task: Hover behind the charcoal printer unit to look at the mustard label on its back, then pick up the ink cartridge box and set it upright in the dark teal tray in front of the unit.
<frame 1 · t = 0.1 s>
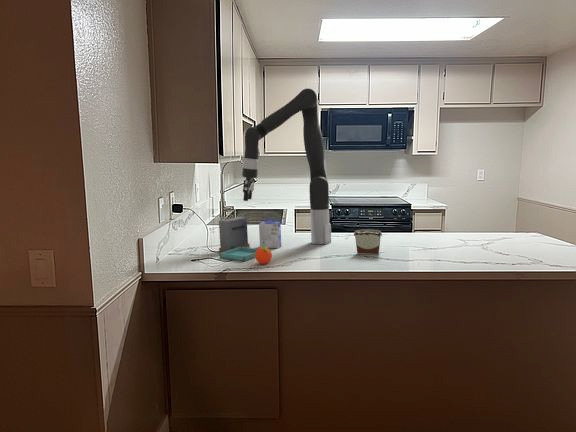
hand: (247, 200, 206), 23 cm above the worktop, tool pointing down, fingers open, 8 cm apart
printer unit: (234, 249, 196), on the worktop
food container: (368, 253, 181), on the worktop
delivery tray: (242, 256, 183), on the worktop
ink cartridge box: (270, 247, 200), on the worktop
clementine: (264, 264, 168), on the worktop
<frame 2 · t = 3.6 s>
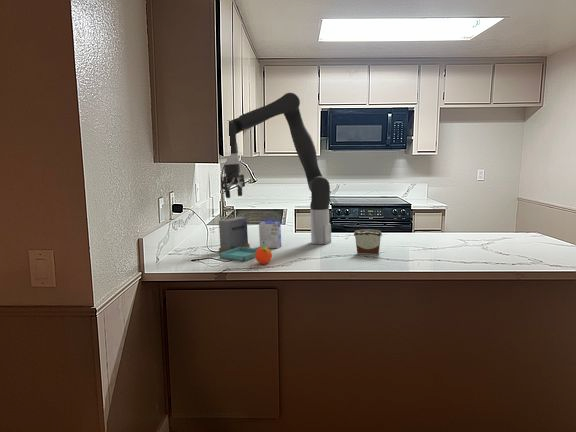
hand: (234, 196, 198), 25 cm above the worktop, tool pointing down, fingers open, 8 cm apart
nothing on the worktop moved.
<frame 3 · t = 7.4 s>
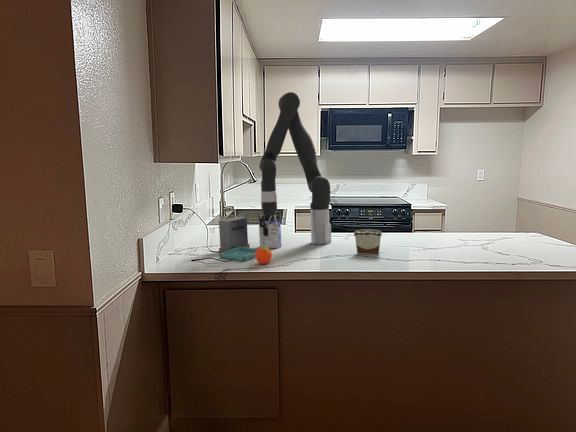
hand: (270, 234, 199), 6 cm above the worktop, tool pointing down, fingers closed on ink cartridge box, 6 cm apart
ink cartridge box: (270, 247, 200), on the worktop, touching gripper
everything else where it was.
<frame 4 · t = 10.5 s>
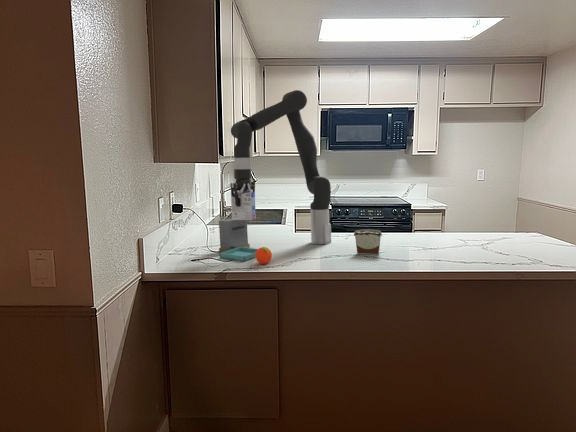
hand: (243, 205, 182), 22 cm above the worktop, tool pointing down, fingers closed on ink cartridge box, 6 cm apart
ink cartridge box: (244, 219, 183), point 16 cm above the worktop, touching gripper
everything else where it was.
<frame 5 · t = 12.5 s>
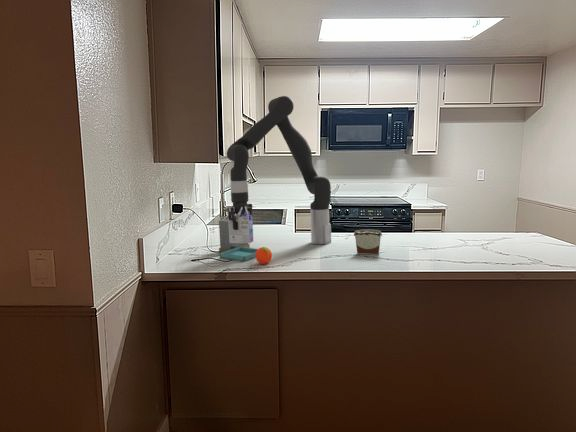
hand: (241, 228, 181), 13 cm above the worktop, tool pointing down, fingers closed on ink cartridge box, 6 cm apart
ink cartridge box: (241, 242, 182), point 6 cm above the worktop, touching gripper
everything else where it was.
when the fingers open (9 cm above the worktop, at t = 13.9 s): ink cartridge box drops 2 cm, resting on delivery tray.
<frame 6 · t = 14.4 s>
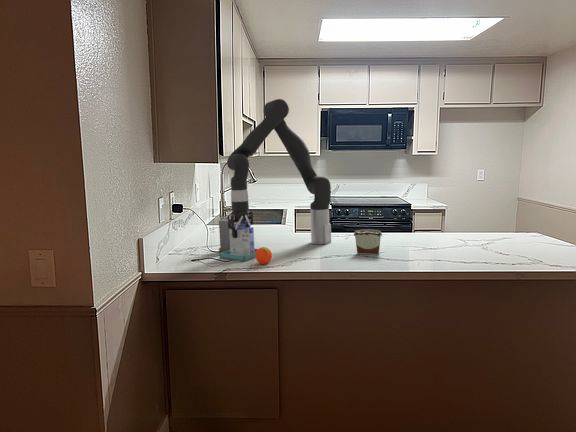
hand: (241, 236, 181), 9 cm above the worktop, tool pointing down, fingers open, 8 cm apart
ink cartridge box: (242, 255, 183), resting on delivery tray
everything else where it was.
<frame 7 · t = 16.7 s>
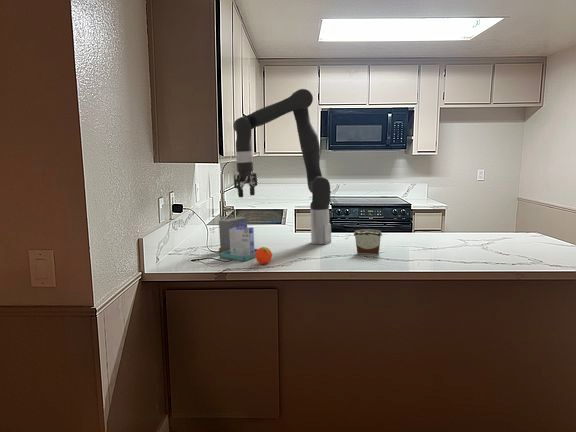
hand: (246, 196, 192), 26 cm above the worktop, tool pointing down, fingers open, 8 cm apart
nothing on the worktop moved.
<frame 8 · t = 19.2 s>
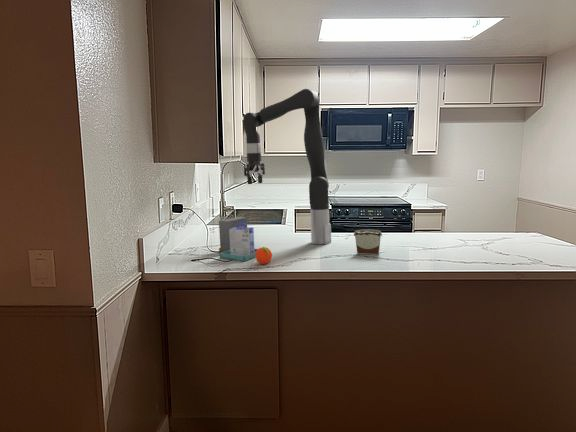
hand: (255, 183, 214), 30 cm above the worktop, tool pointing down, fingers open, 8 cm apart
nothing on the worktop moved.
at the end: ink cartridge box inside the target area on the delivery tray (0.3 cm from its centre), point 0.4 cm above the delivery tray's base; ink cartridge box tilted 0°; the gripper is holding nothing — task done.
